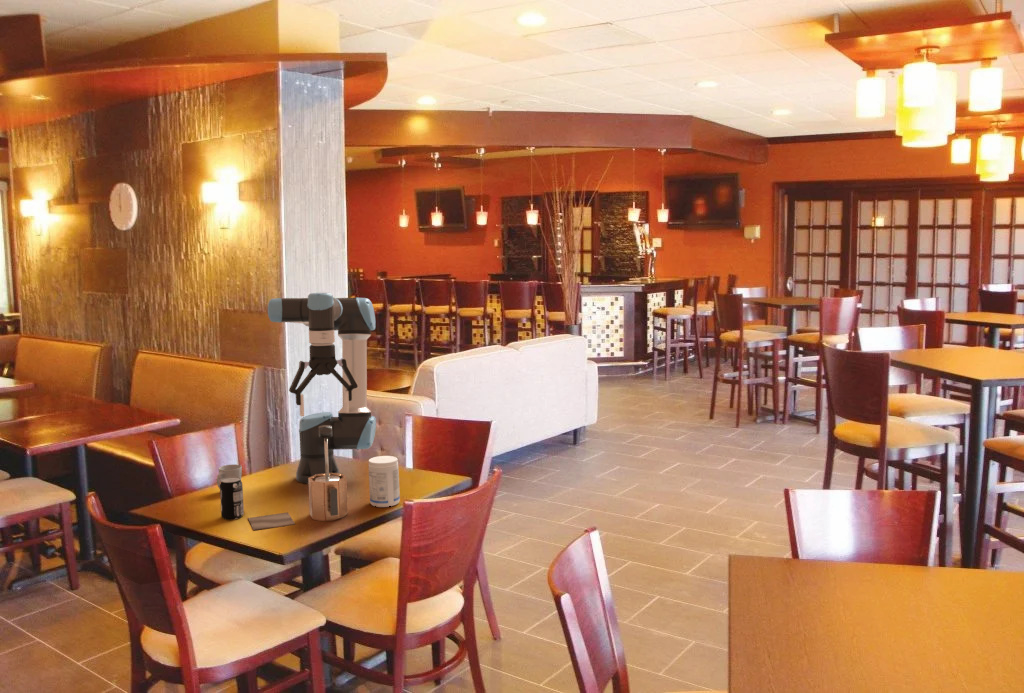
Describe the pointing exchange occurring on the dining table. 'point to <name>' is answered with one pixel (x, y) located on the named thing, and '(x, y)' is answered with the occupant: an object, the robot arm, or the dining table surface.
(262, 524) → the gray-brown square tile
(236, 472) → the cup
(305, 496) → the dining table surface
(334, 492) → the press carafe
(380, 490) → the supplement tub
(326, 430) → the plunger
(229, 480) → the beverage can
